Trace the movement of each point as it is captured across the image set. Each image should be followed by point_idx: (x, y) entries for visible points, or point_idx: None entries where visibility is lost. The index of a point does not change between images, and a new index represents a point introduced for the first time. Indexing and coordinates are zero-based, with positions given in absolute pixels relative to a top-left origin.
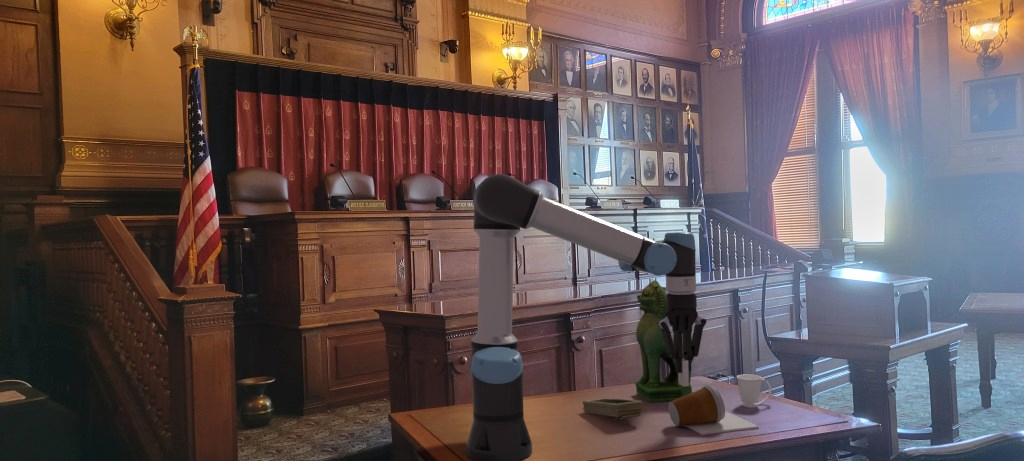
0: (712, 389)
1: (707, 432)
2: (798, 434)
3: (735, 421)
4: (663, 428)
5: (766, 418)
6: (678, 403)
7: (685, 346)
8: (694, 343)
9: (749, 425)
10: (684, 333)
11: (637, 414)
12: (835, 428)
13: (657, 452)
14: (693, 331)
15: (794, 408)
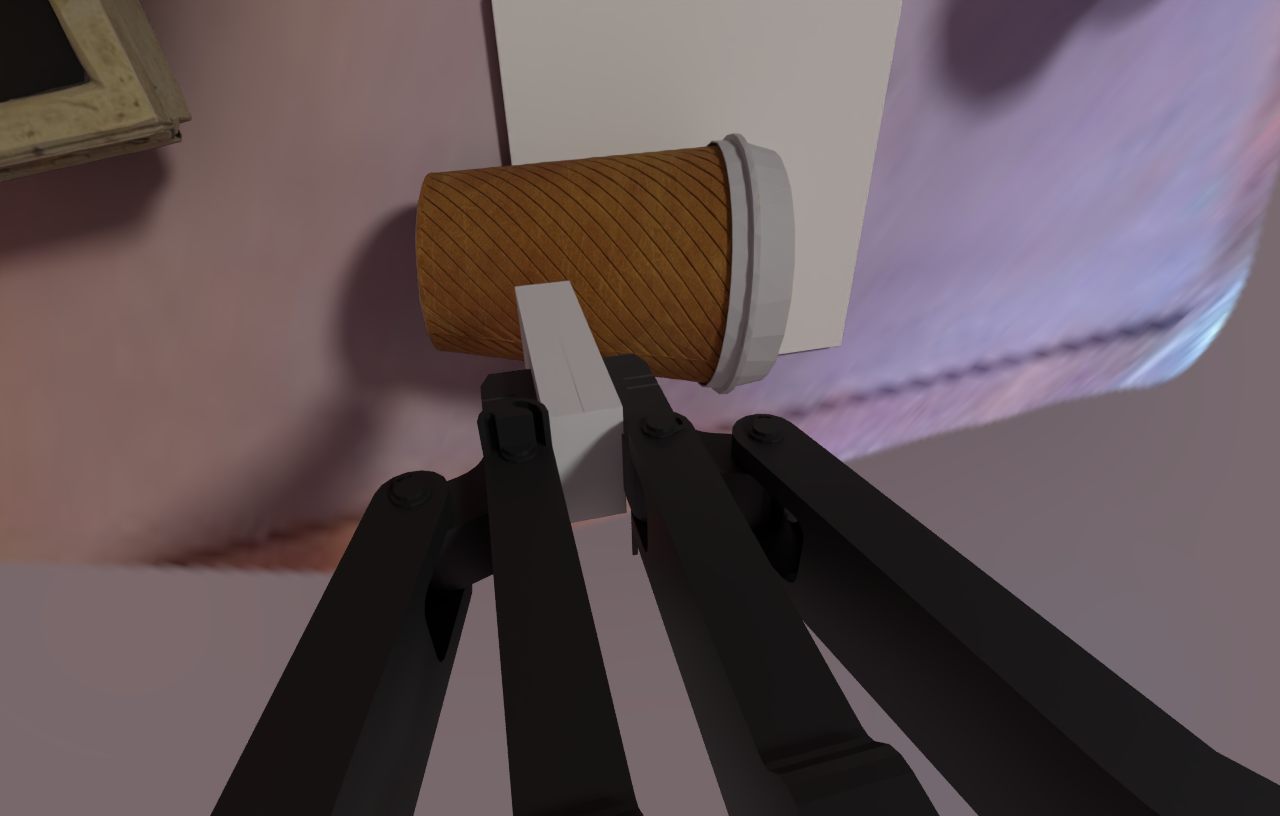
0: (739, 370)
1: None
2: (902, 436)
3: (803, 245)
4: (365, 231)
5: (986, 194)
6: (461, 340)
7: (668, 600)
8: (824, 607)
9: (814, 325)
10: (749, 801)
11: (143, 148)
12: (1063, 393)
13: (246, 570)
14: (1019, 695)
15: (1248, 46)
